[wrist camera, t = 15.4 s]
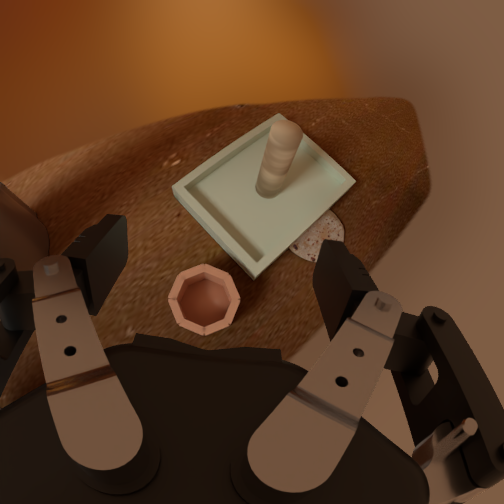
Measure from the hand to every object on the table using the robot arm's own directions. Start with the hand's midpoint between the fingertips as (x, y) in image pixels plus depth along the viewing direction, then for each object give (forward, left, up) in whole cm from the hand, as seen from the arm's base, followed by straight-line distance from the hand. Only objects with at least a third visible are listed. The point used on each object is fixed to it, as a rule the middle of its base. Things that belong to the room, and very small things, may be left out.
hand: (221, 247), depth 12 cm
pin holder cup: (-1, -1, -22) cm, 22 cm away
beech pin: (-11, +11, -21) cm, 26 cm away
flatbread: (-4, +14, -22) cm, 26 cm away
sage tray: (-11, +11, -22) cm, 26 cm away
